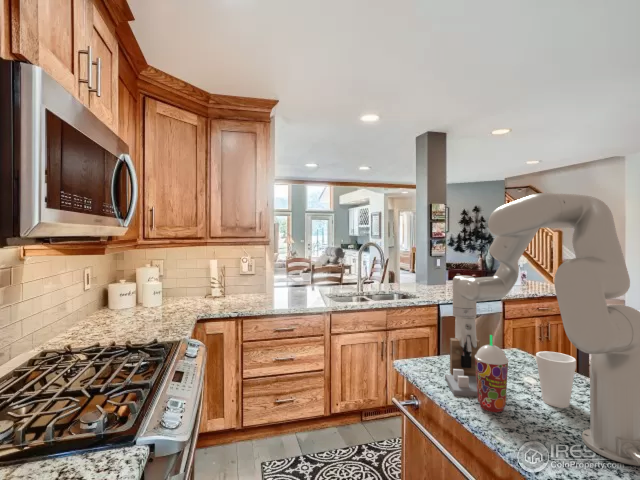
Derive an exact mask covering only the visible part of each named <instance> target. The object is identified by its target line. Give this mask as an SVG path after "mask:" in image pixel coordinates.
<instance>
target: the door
mask: <svg viewBox="0 0 640 480" xmlns="http://www.w3.org/2000/svg"><path fill="white" fill-rule="evenodd" d="M476 339H477V347H476V348H474V347H473V346H472V345H471V348H472V352H471V368H462V367H461V355H462V347H461V346H460V344H459V340H458V339H457V338H455V337H449V373H450V375H453V369H463V370H464V376H476V365H475V355H476V354H477V351H478V350H479V349H480V348H481V345H480V344H481V343H480V341H481V340H479V339H478V338H476ZM471 344H472V342H471ZM464 346H466V345H464ZM465 350H466V349H464V351H465Z"/></svg>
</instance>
